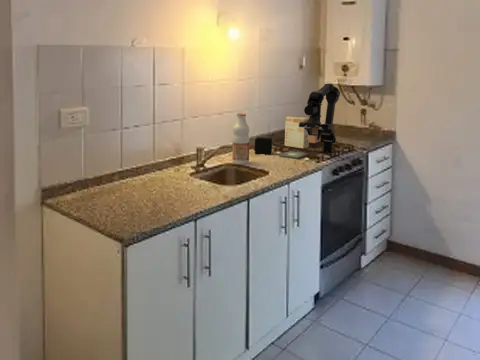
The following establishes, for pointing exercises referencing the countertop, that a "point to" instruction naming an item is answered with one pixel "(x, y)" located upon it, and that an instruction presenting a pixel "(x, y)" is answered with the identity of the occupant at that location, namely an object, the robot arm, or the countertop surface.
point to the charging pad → (293, 155)
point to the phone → (313, 138)
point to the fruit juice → (241, 140)
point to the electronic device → (263, 145)
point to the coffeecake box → (296, 132)
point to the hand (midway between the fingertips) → (314, 139)
